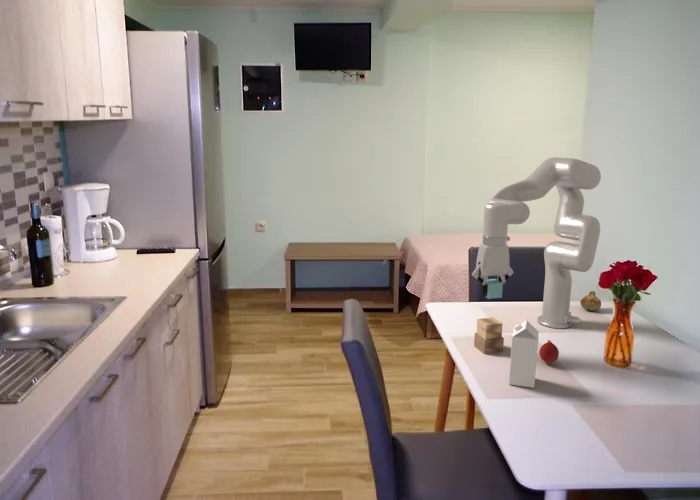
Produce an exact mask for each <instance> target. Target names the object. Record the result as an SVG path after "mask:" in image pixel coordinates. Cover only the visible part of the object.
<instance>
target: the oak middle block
mask: <svg viewBox="0 0 700 500" xmlns="http://www.w3.org/2000/svg"><path fill="white" fill-rule="evenodd" d="M476 333H477V334H479V335H480V336H481V337H483V338H484V339H493V338H501V337H503V322H501V321H500V320H498V319H496V318H494V317H484V318H477V321H476Z"/></svg>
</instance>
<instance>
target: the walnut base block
mask: <svg viewBox="0 0 700 500" xmlns="http://www.w3.org/2000/svg"><path fill="white" fill-rule="evenodd" d="M473 341H474V342H473V344H474V345H473V346H474V348H476V349H477V350H478V351H479V352H481V353H482V354H483V355H489V354H498V353H504V344H505V343H504V341H505V338H504V337H503V336H502V337H501V338H493V339H484V338H483V337H481V336H480V335H479V334H477V332H474V340H473Z"/></svg>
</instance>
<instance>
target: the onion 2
mask: <svg viewBox="0 0 700 500" xmlns="http://www.w3.org/2000/svg"><path fill="white" fill-rule="evenodd" d="M596 294H597V293H596V292H595V290H590V292H588V294H586V295H585V296H584V297H582V298H581V299H580V301H579V304H580V306H581V308H582V309H584V310H585V311H588V312H595V311H597V310H598V311H599V309H600V308H601V307H602V300H600V298H598V296H596Z"/></svg>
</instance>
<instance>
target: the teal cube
mask: <svg viewBox="0 0 700 500" xmlns="http://www.w3.org/2000/svg"><path fill="white" fill-rule="evenodd" d="M486 285H487V297H485V298H486V299H487V300H490V299H501V298H503V295H502V291H503V292H504V288H503V283H502V282H500V281H498V278H497V279H496V278H489V279H488V280H487V283H486Z"/></svg>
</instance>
